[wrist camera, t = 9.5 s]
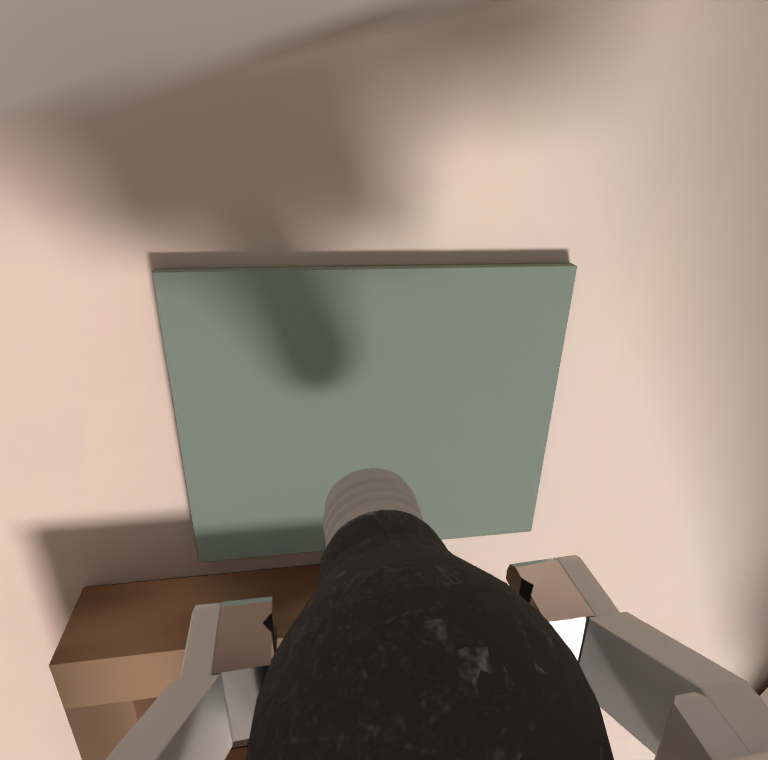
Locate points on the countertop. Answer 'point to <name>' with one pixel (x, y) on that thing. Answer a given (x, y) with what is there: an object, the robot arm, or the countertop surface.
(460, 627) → the light bulb
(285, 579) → the socket block
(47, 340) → the countertop surface
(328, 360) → the rubber mat
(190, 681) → the robot arm
